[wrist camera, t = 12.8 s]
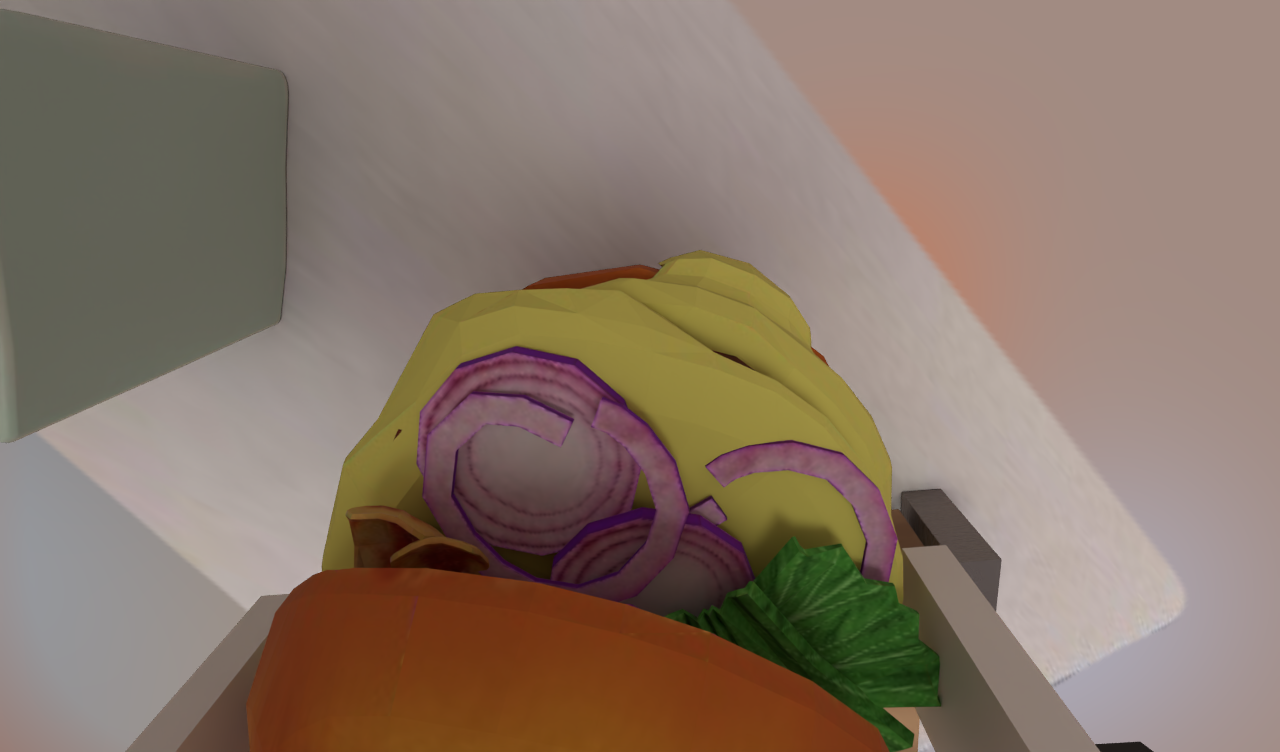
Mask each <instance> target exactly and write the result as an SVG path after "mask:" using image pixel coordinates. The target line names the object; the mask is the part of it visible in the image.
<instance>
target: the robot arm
mask: <svg viewBox="0 0 1280 752" xmlns="http://www.w3.org/2000/svg"><path fill="white" fill-rule="evenodd" d="M902 556H903V594H904V599H903V603H902V604H903V605H905V606H907V607H910V608H912V609H914V610H916V611H917V612H918V613H919V615H920V616H919V640H921V641H922V642H923V643H925V644H926V645H927V646H928V647H930V648H931V649H932V650H933V651H935V652H936V653H937V654H938V655H939V657H940V658H939V659H940V672H939V684H938V696H939V699H940V702H941V707H915V709H916V711H917V714H918V716H919V718H920V720H921V722H922V724H923V726H924V728H925V731H926V733H927V735H928V737H929V739H930V741H931V743H932V745H933V747H934V750H935V752H1153V751H1152V750H1151V749H1149V748H1148V747H1147V746H1145V745H1144V744H1142V743H1141V742H1127V743H1109V744H1094V742H1093V741H1092V740H1091V738H1090V737H1089V736H1088V734H1087V733H1086V732H1085V730H1084V729H1083V728H1082V727H1081V725H1080V724H1079V722H1078V721H1077V720H1076V718H1075V717H1074V716H1073V714H1072V713H1071V712H1070V710H1069V709H1068V708H1067V706H1066V705H1065V704H1064V702H1063V701H1062V700H1061V699H1060V697H1059V696H1058V694H1057V693H1056V692H1055V690H1054V689H1053V688H1052V686H1051V685H1050V684H1049V682H1048V681H1047V680H1046V678H1045V677H1044V676H1043V674H1042V673H1041V671H1040V670H1039V669H1038V667H1037V666H1036V665H1035V663H1034V662H1033V661H1032V659H1031V658H1030V657H1029V655H1028V654H1027V653H1026V651H1025V650H1024V649H1023V647H1022V646H1021V645H1020V643H1019V642H1018V641H1017V639H1016V638H1015V637H1014V635H1013V634H1012V633H1011V631H1010V630H1009V629H1008V627H1007V626H1006V625H1005V623H1004V622H1003V621H1002V619H1001V618H1000V617H999V615H998V614H997V613H996V611H995V610H994V609H993V607H992V606H991V604H990V603H989V602H988V600H987V599H986V598H985V596H984V595H983V594H982V592H981V591H980V590H979V588H978V587H977V586H976V584H975V583H974V582H973V580H972V579H971V578H970V576H969V575H968V574H967V572H966V571H965V570H964V568H963V567H962V566H961V564H960V563H959V562H958V560H957V559H956V558H955V556H954V555H953V554H952V552H951V551H950V550H949V548H948V547H947V546H946V545H940V546H926V547H913V548H902ZM288 595H289V594H282V595H269V596H261V597H260V598H259V599H258V601H257V602H256V603H255V604H254V605H253V606H252V607H251V609H250V610H249V611H248V612H247V613H246V614H245V615H244V617H243V618H242V619H241V620H240V621H239V622H238V623H237V625H236V626H235V627H234V628H233V629H232V630H231V632H230V633H229V634H228V635H227V636H226V637H225V638H224V639H223V641H222V642H221V643H220V644H219V645H218V647H216V649H215V650H214V651H213V652H212V653H211V654H210V655H209V657H208V658H207V659H206V660H205V661H204V662H203V663H202V665H201V666H200V667H199V668H198V669H197V670H196V672H195V673H194V674H193V675H192V676H191V677H190V678H189V680H188V681H187V682H186V683H185V684H184V685H183V686H182V688H181V689H180V690H179V691H178V692H177V693H176V694H175V695H174V697H173V698H172V699H171V700H170V701H169V702H168V704H167V705H166V706H165V707H164V708H163V709H162V710H161V711H160V713H159V714H158V715H157V716H156V717H155V718H154V719H153V721H152V722H151V723H150V724H149V725H148V727H146V729H145V730H144V731H143V732H142V733H141V734H140V735H139V737H138V738H137V739H136V740H135V741H134V742H133V744H132V745H131V746H130V747H129V748H128V749H127V750H126V752H250V746H249V734H248V722H247V709H246V703H247V699H248V696H249V693H250V690H251V687H252V684H253V681H254V678H255V674H256V671H257V668H258V665H259V662H260V659H261V656H262V652H263V649H264V646H265V643H266V640H267V637H268V634H269V631H270V627H271V624H272V621H273V618H274V615H275V612H276V611H277V610H278V608H279V607H280V606H281V604H282V603H283V602H284V601H285V599H286V598H287V597H288Z"/></svg>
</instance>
